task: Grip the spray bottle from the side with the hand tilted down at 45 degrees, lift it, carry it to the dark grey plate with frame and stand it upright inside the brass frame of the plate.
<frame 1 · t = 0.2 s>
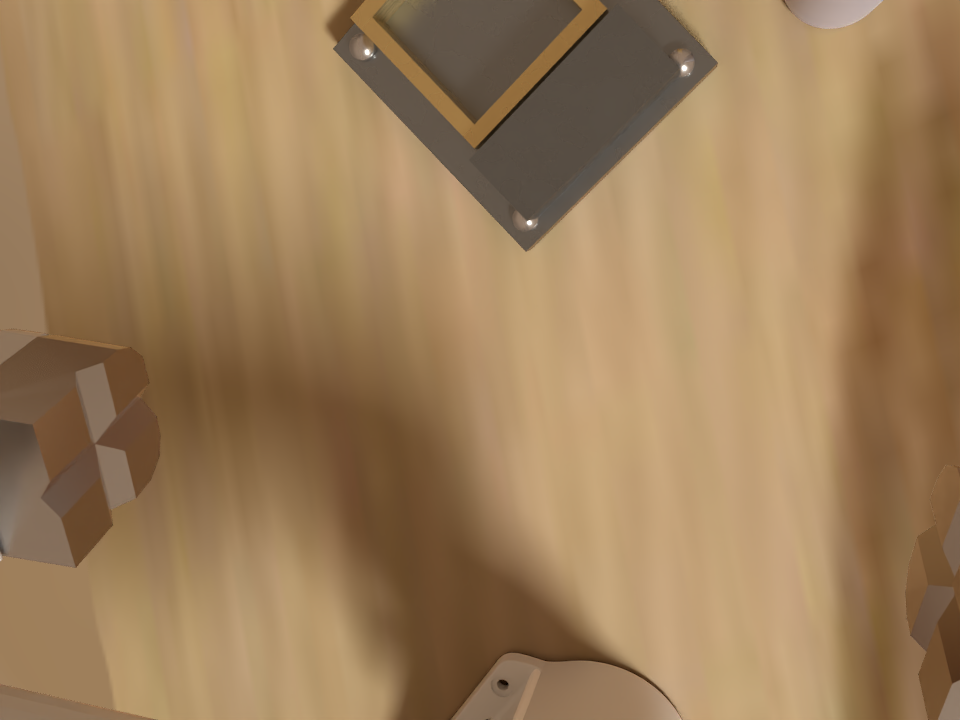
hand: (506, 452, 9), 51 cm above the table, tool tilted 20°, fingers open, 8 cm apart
grey plate with frame: (522, 59, 59), on the table
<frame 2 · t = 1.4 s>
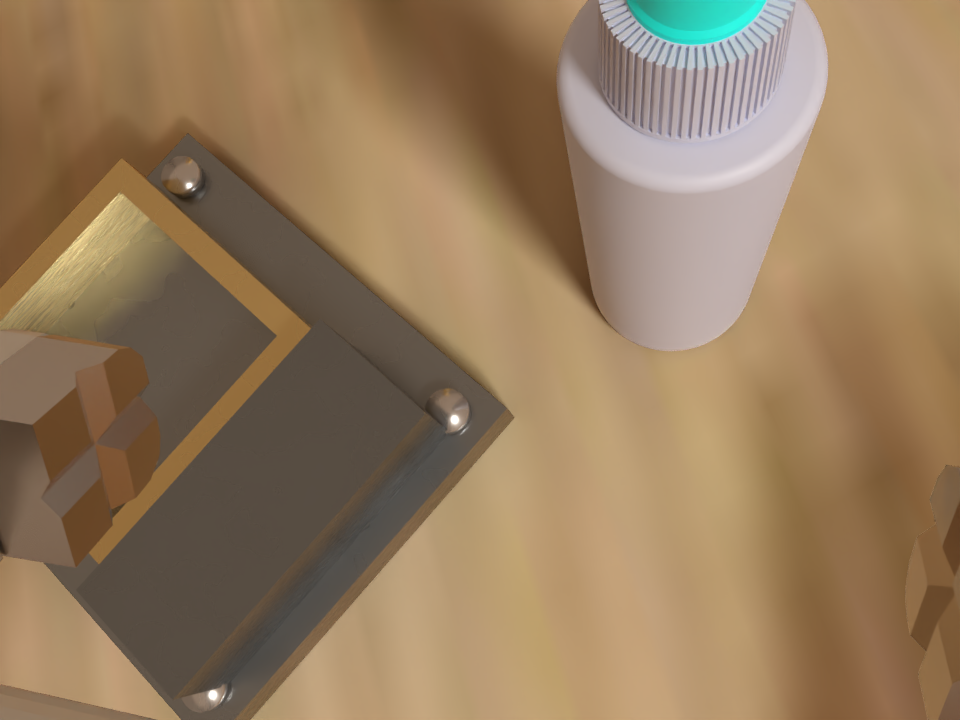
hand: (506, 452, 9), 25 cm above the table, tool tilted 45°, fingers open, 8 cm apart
spray bottle: (669, 280, 36), on the table
grey plate with frame: (219, 423, 37), on the table
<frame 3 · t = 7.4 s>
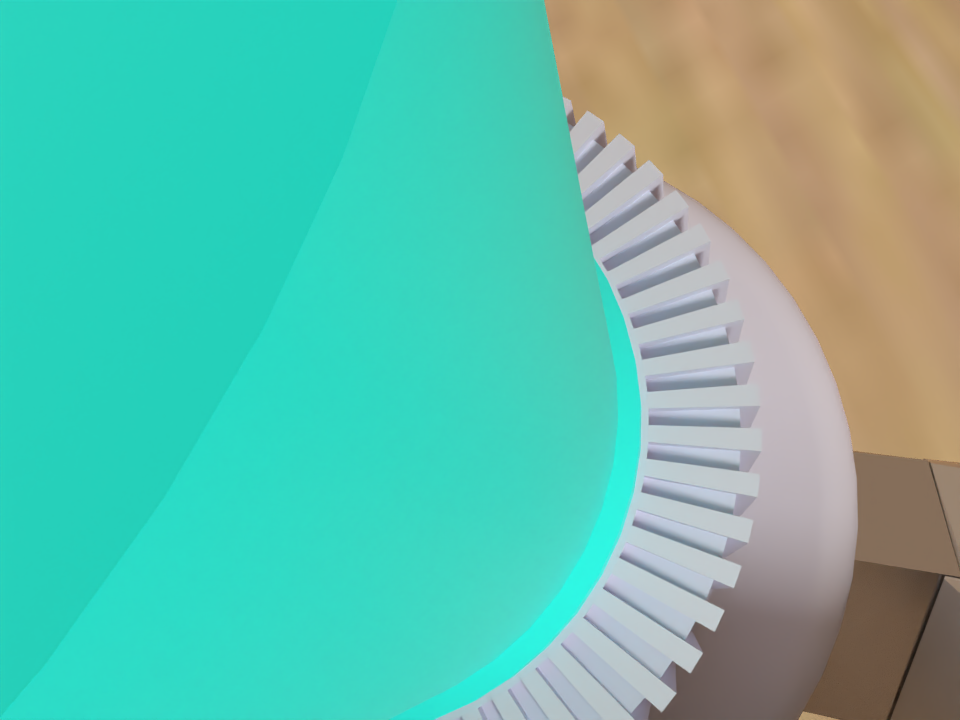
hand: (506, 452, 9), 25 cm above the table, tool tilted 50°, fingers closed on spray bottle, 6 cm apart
spray bottle: (577, 541, 22), point 11 cm above the table, touching gripper
when the fingers open (16 cm above the table, at t = 9.8 s): spray bottle stays where it is, resting on grey plate with frame.
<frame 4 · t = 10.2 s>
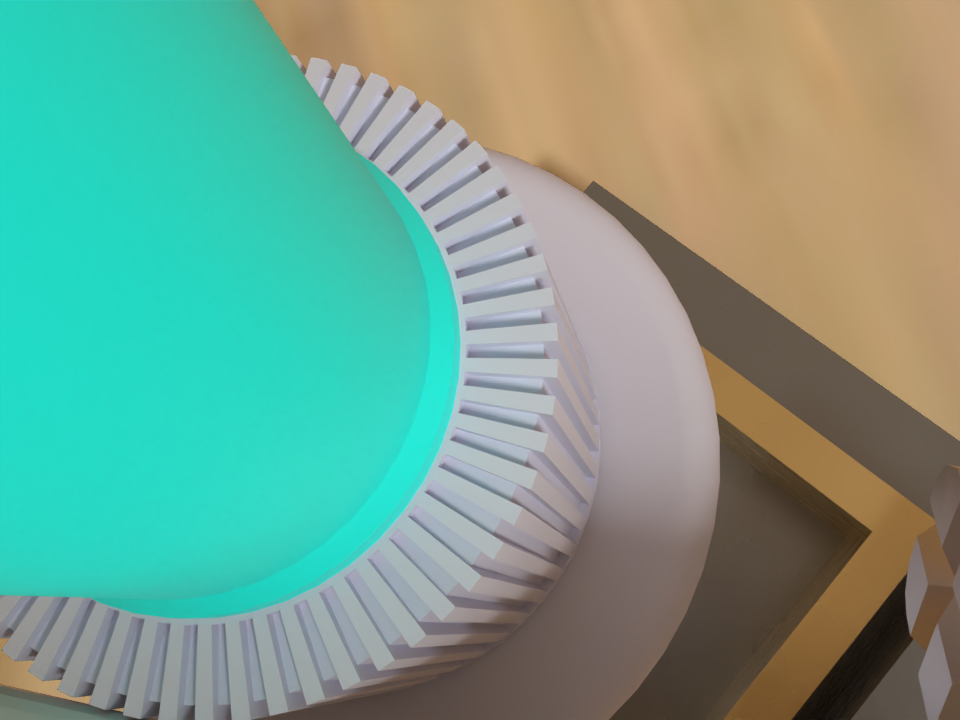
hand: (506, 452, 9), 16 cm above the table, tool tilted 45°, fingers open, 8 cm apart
spray bottle: (539, 540, 23), point 2 cm above the table, touching grey plate with frame
grey plate with frame: (670, 639, 24), on the table
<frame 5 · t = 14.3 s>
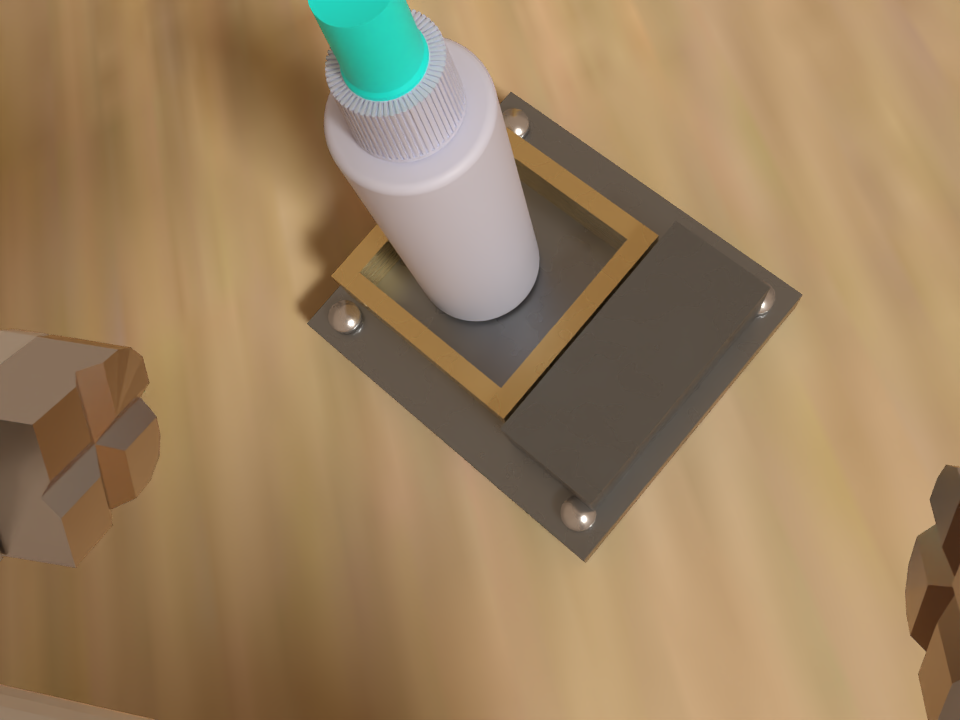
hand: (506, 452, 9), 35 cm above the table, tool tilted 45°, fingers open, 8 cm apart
spray bottle: (480, 267, 46), point 2 cm above the table, touching grey plate with frame
grey plate with frame: (548, 321, 47), on the table
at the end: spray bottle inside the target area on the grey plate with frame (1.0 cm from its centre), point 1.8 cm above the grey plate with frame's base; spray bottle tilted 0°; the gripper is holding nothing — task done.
